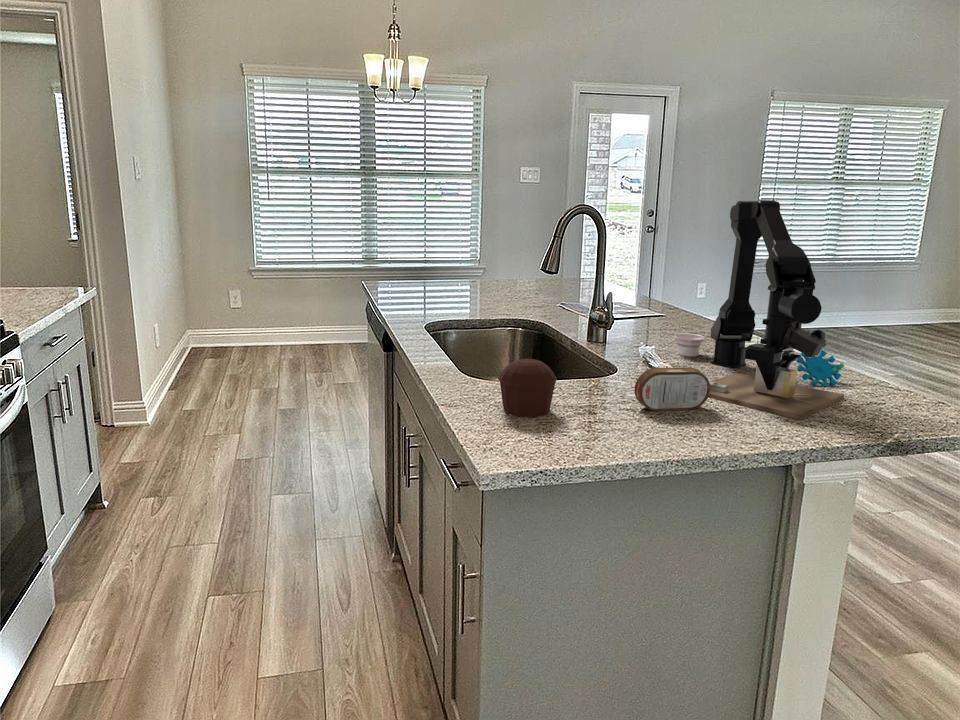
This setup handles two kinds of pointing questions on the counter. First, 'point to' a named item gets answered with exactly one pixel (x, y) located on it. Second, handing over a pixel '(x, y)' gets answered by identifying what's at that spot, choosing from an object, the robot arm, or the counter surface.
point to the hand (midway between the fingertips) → (773, 388)
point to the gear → (820, 369)
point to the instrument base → (771, 397)
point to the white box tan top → (778, 383)
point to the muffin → (527, 388)
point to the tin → (672, 389)
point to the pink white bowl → (688, 344)
